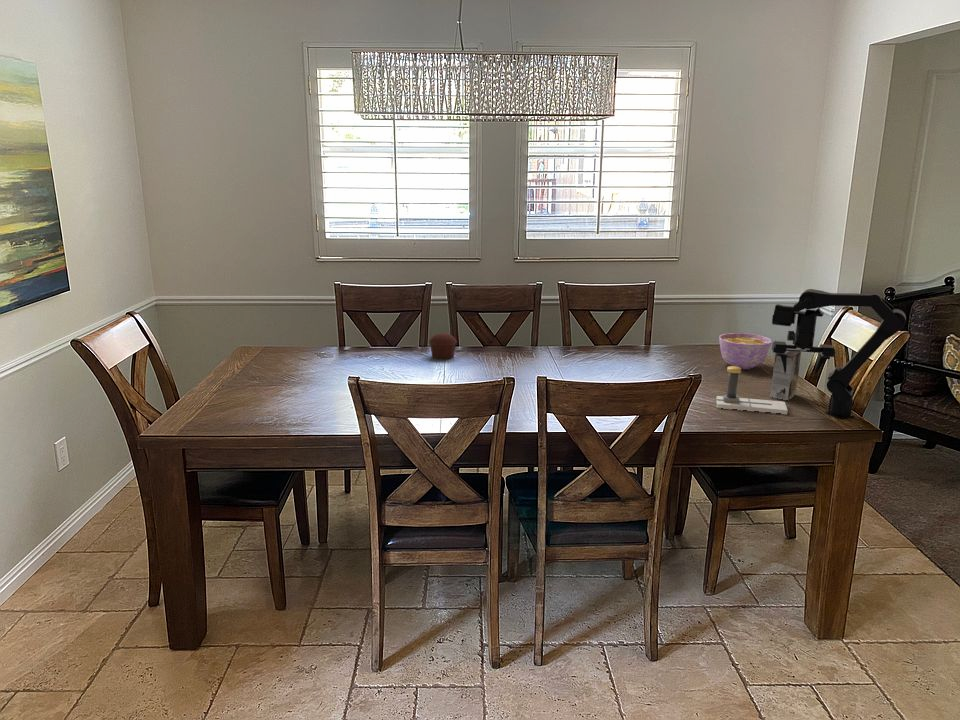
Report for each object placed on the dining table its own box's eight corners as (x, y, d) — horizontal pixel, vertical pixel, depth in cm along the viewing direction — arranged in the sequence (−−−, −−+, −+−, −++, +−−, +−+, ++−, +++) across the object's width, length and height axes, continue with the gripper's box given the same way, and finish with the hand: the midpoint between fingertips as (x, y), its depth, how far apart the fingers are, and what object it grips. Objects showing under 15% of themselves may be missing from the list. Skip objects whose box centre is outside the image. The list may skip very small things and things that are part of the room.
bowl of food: (708, 360, 304) (711, 333, 301) (755, 359, 306) (758, 332, 303) (728, 373, 285) (730, 345, 282) (777, 373, 287) (781, 344, 284)
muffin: (424, 358, 304) (424, 335, 301) (435, 352, 314) (435, 329, 311) (450, 361, 300) (450, 337, 297) (461, 355, 310) (461, 332, 307)
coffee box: (777, 391, 264) (783, 348, 260) (796, 394, 260) (802, 351, 256) (769, 397, 258) (774, 353, 253) (788, 401, 254) (793, 356, 249)
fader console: (784, 405, 249) (784, 401, 248) (787, 414, 240) (787, 409, 240) (714, 399, 254) (715, 395, 254) (715, 408, 246) (715, 403, 246)
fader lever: (738, 398, 250) (741, 366, 247) (739, 402, 246) (742, 370, 243) (723, 397, 251) (726, 365, 248) (723, 401, 247) (726, 369, 244)
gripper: (832, 324, 244) (826, 369, 248) (772, 321, 249) (767, 365, 253) (838, 332, 234) (831, 378, 238) (776, 328, 239) (770, 374, 243)
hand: (799, 373), depth 243 cm, fingers open, 9 cm apart
